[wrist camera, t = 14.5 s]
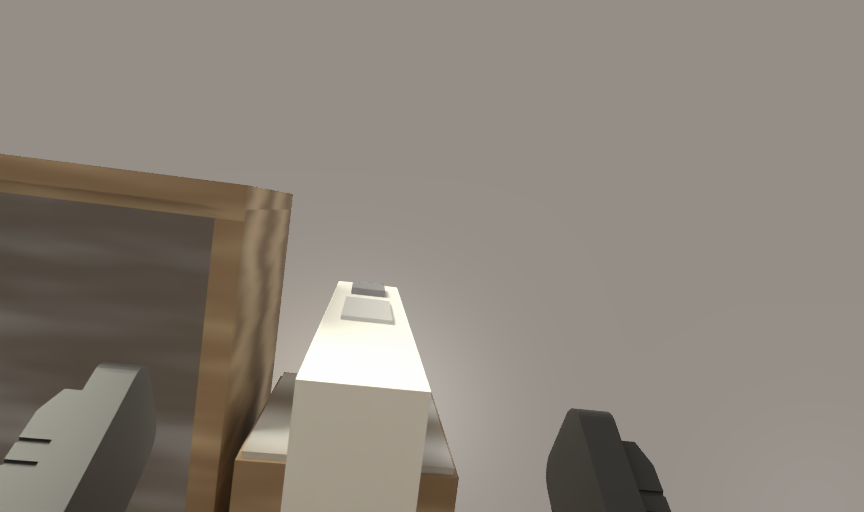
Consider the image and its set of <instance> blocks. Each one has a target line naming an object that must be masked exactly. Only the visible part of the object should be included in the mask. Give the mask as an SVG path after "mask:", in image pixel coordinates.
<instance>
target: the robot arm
mask: <svg viewBox="0 0 864 512" xmlns="http://www.w3.org/2000/svg"><path fill="white" fill-rule="evenodd" d="M156 426H157V420H156V412H155V405H154V398H153V391H152V384H151V377H150V371H149V369H148V367H147V366H141V365H131V364H120V363H110V362H102V363H101V364H99V365H98V366H97V368H96V369H95V370H94V372H93V374H92V375H91V377H90V379H89V380H88V382H87V383H86V385H85V387H84V388H83V390H74V389H63V390H62V391H61V392H60V393H58V394H57V395H56V396H55V397H53V398H52V399H51V400H49V401H48V402H47V403H46V404H44V405H43V406H42V407H40V408H39V409H38V410H37V411H36V412H35V414H34V415H33V417H32V418H31V420H30V421H29V423H28V424H27V426H26V427H25V429H24V430H23V432H22V433H21V435H20V436H19V441H18V442H15V444H14V445H13V447H12V448H11V450H10V451H9V453H8V454H7V455H6V457H5V458H4V463H3V465H0V512H125V511H126V509H127V506H128V504H129V502H130V499H131V497H132V495H133V493H134V490H135V488H136V486H137V483H138V481H139V479H140V477H141V474H142V472H143V470H144V467H145V465H146V463H147V461H148V458H149V456H150V453H151V451H152V448H153V444H154V440H155V435H156ZM546 482H547V489H548V494H549V498H550V504H551V509H552V512H671V510H670V508H669V505H668V503H667V500H666V497H664V496H663V489H662V487H661V484H660V482H659V479H658V476H657V474H656V471H655V469H654V466H653V465H652V463H651V462H650V461H649V459H648V458H647V457H646V456H645V454H644V453H643V452H642V451H641V449H640V448H639V447H638V446H637V445H636V443H635V442H628V441H622V440H621V438H620V435H619V432H618V429H617V426H616V423H615V420H614V418H613V416H612V415H611V414H610V413H609V412H604V411H593V410H582V409H573V408H572V409H570V410H569V411H568V412H567V415H566V417H565V419H564V422H563V424H562V426H561V428H560V431H559V433H558V436H557V438H556V440H555V442H554V445H553V447H552V450H551V452H550V454H549V457H548V462H547V469H546Z"/></svg>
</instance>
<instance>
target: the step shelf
mask: <svg viewBox="0 0 864 512" xmlns="http://www.w3.org/2000/svg"><path fill="white" fill-rule="evenodd" d="M292 197H293V194H289V193H284V192H279V191H274V190H268V189H263V188H258V187H253V186H247V185H240V184H232V183H224V182H215V181H208V180H200V179H192V178H185V177H177V176H168V175H161V174H154V173H145V172H138V171H130V170H122V169H114V168H106V167H99V166H91V165H83V164H75V163H68V162H60V161H52V160H44V159H36V158H29V157H21V156H13V155H5V154H0V465H3V463H4V458H5V457H6V455H7V454H8V453H9V451H10V450H11V448H12V447H13V445H14V444H15V442H18V441H19V436H20V435H21V433H22V432H23V430H24V429H25V427H26V426H27V424H28V423H29V421H30V420H31V418H32V417H33V415H34V414H35V412H36V411H37V410H38V409H39V408H40V407H42V406H43V405H44V404H46V403H47V402H48V401H49V400H51V399H52V398H53V397H55V396H56V395H57V394H58V393H60V392H61V391H62V390H63V389H74V390H83V388H84V387H85V385H86V383H87V382H88V380H89V379H90V377H91V375H92V374H93V372H94V370H95V369H96V368H97V366H98V365H99V364H101V363H102V362H110V363H120V364H131V365H141V366H147V367H148V369H149V371H150V377H151V384H152V391H153V398H154V405H155V412H156V420H157V426H156V435H155V440H154V444H153V448H152V451H151V453H150V456H149V458H148V461H147V463H146V465H145V467H144V470H143V472H142V474H141V477H140V479H139V481H138V483H137V486H136V488H135V490H134V493H133V495H132V497H131V499H130V502H129V504H128V506H127V509H126V511H125V512H280V511H281V502H282V493H283V484H284V476H285V467H286V458H287V449H288V440H289V431H290V423H291V414H292V405H293V396H294V387H295V379H296V377H297V375H298V374H297V373H286V372H284V374H283V376H281V377H280V378H279V380H278V382H277V384H276V386H275V388H274V389H273V391H272V393H271V387H272V377H273V368H274V359H275V350H276V341H277V332H278V323H279V314H280V305H281V296H282V287H283V278H284V269H285V259H286V251H287V242H288V232H289V223H290V214H291V206H292ZM458 479H459V478H458V474H457V471H456V468H455V465H454V462H453V458H452V455H451V453H450V449H449V446H448V443H447V440H446V437H445V434H444V431H443V427H442V424H441V421H440V418H439V415H438V412H437V409H436V406H435V402H434V400H433V396H432V393H431V398H430V406H429V414H428V422H427V430H426V437H425V445H424V453H423V461H422V468H421V476H420V484H419V492H418V500H417V507H416V512H454V509H455V502H456V494H457V487H458Z"/></svg>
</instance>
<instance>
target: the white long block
mask: <svg viewBox="0 0 864 512" xmlns="http://www.w3.org/2000/svg"><path fill="white" fill-rule="evenodd" d="M430 398H431V390H430V387H429V384H428V381H427V378H426V375H425V372H424V368H423V366H422V362H421V359H420V356H419V353H418V351H417V347H416V344H415V341H414V338H413V335H412V332H411V329H410V326H409V323H408V320H407V317H406V314H405V311H404V308H403V305H402V302H401V299H400V296H399V293H398V290H397V288H395V287H387V286H384V285H381V284H373V283H364V282H353V283H352V282H343V281H339V282H338V285H337V287H336V289H335V291H334V294H333V296H332V298H331V301H330V303H329V305H328V307H327V309H326V312H325V314H324V316H323V318H322V321H321V323H320V325H319V327H318V330H317V332H316V334H315V336H314V339H313V341H312V343H311V345H310V348H309V350H308V352H307V355H306V357H305V359H304V361H303V363H302V366H301V368H300V370H299V373H298V375H297V377H296V379H295V387H294V396H293V405H292V414H291V423H290V431H289V440H288V449H287V458H286V467H285V476H284V484H283V493H282V502H281V511H280V512H416V507H417V500H418V492H419V484H420V476H421V468H422V461H423V453H424V445H425V437H426V430H427V422H428V414H429V406H430Z"/></svg>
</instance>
